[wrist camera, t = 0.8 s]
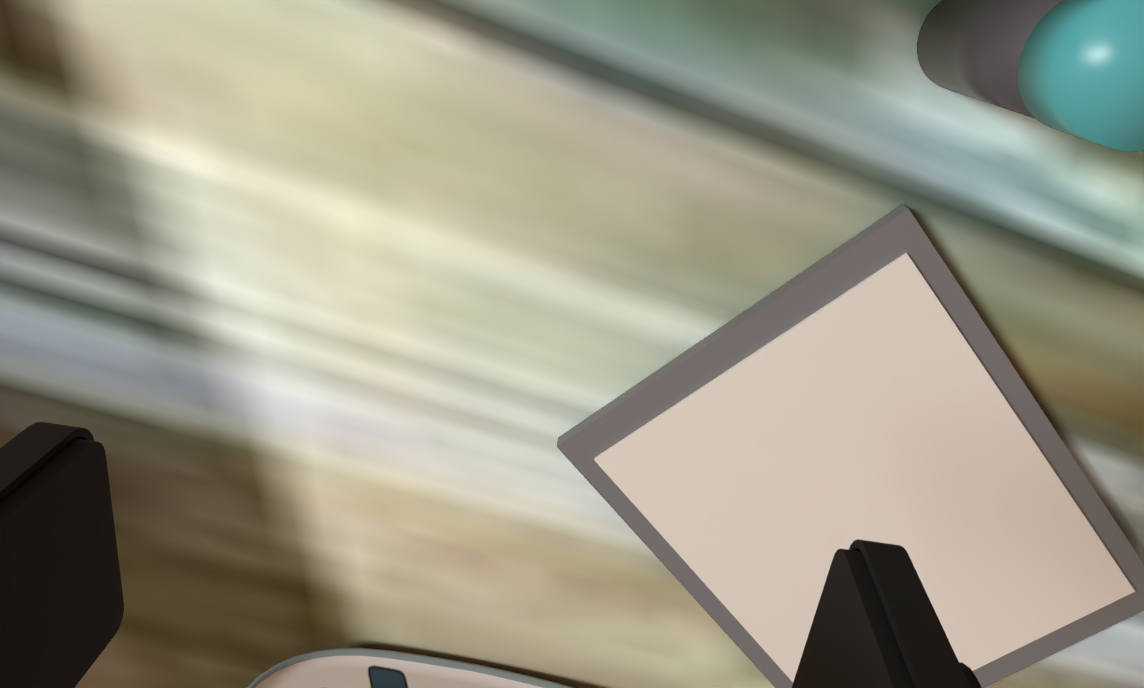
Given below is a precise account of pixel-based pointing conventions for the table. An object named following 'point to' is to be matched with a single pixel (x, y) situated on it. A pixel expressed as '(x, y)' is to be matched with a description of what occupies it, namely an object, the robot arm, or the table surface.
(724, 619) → the notepad
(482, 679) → the grey rounded block
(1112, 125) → the marker
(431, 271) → the table surface
